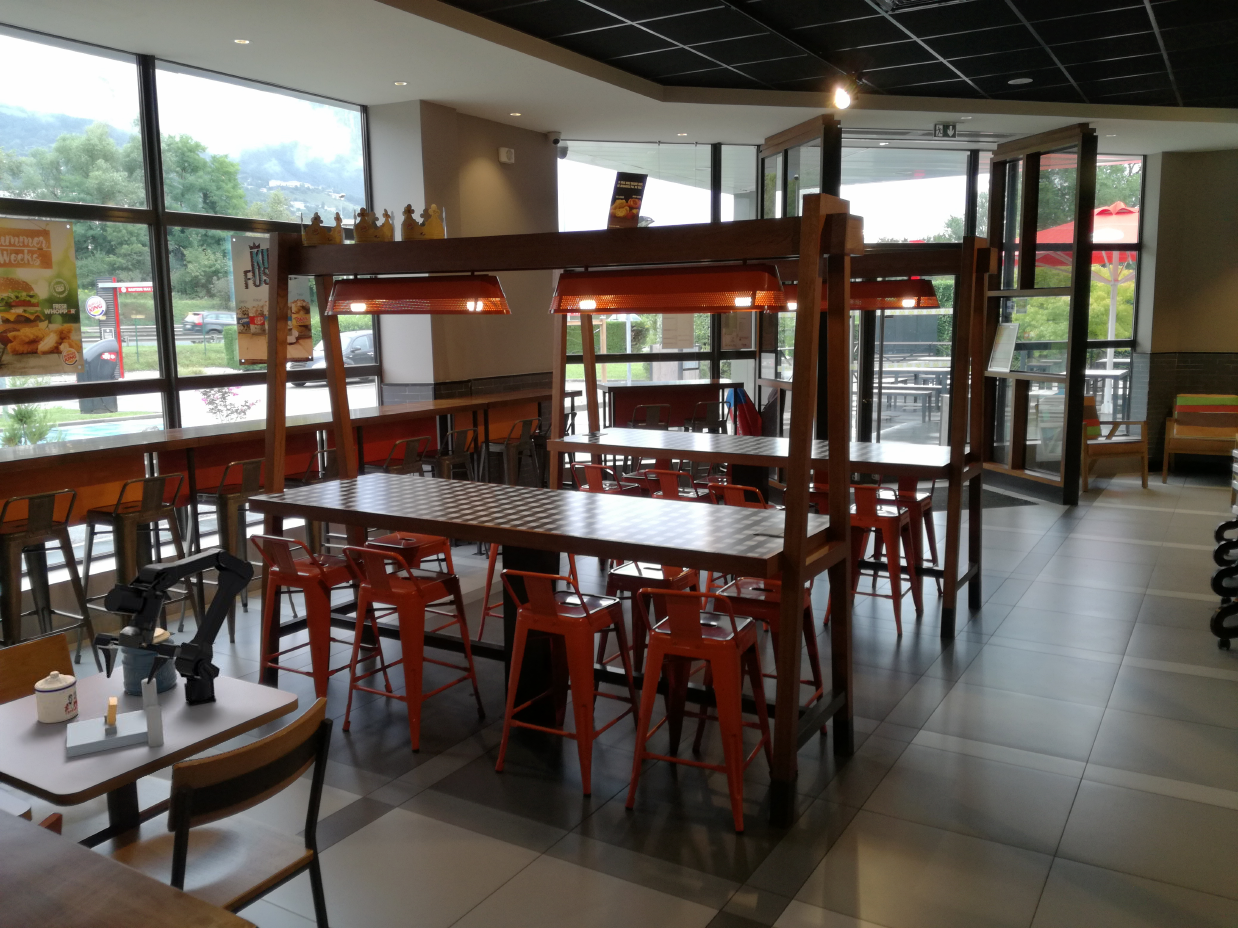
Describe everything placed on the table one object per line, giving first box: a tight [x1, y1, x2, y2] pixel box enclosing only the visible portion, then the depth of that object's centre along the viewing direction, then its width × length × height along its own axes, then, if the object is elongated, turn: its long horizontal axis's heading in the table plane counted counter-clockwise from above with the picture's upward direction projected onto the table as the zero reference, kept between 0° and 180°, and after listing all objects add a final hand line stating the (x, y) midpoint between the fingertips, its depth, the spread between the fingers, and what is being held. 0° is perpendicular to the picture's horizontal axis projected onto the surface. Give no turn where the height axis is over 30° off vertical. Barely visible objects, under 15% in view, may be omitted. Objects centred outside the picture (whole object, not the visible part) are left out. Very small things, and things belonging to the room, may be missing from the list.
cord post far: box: [141, 678, 159, 710], centre depth 230 cm, size 3×3×9 cm
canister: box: [119, 627, 178, 696], centre depth 246 cm, size 13×13×18 cm
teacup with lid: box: [33, 670, 79, 724], centre depth 230 cm, size 12×9×12 cm
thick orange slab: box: [106, 697, 118, 724], centre depth 217 cm, size 2×5×5 cm, turn 30°
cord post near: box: [146, 704, 165, 748], centre depth 214 cm, size 3×3×9 cm
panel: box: [66, 709, 148, 758], centre depth 218 cm, size 18×14×4 cm
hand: (128, 680), depth 219 cm, fingers open, 9 cm apart
